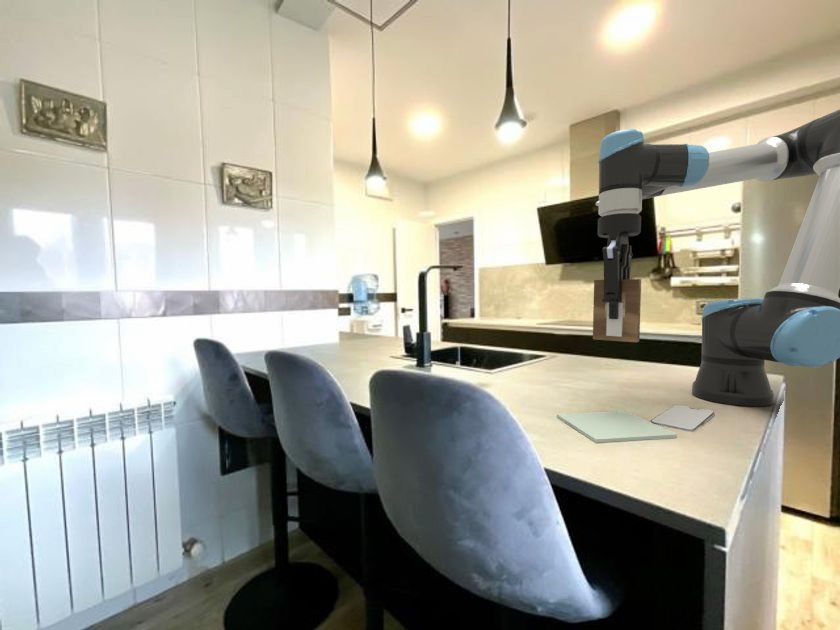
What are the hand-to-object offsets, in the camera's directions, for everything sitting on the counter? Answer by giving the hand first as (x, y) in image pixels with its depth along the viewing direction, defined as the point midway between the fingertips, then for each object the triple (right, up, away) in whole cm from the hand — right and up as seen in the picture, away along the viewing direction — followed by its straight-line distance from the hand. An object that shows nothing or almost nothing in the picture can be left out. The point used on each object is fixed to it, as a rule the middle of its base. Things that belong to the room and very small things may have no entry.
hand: (616, 335), depth 77 cm
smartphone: (+14, -17, 0) cm, 22 cm away
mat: (-3, -17, -4) cm, 18 cm away
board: (0, -1, 0) cm, 1 cm away
